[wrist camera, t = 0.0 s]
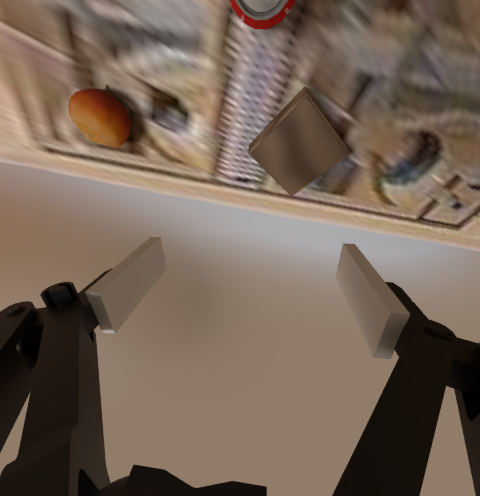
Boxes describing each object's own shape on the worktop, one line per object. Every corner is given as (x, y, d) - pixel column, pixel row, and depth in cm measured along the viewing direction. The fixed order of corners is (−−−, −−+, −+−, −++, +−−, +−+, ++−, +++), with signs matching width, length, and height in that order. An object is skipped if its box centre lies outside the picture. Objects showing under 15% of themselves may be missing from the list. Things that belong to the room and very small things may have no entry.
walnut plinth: (304, 86, 31) (307, 93, 28) (345, 144, 35) (351, 154, 33) (249, 144, 37) (247, 153, 34) (290, 186, 42) (291, 197, 39)
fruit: (144, 101, 33) (114, 140, 31) (141, 129, 40) (116, 162, 38) (88, 57, 30) (50, 96, 28) (95, 96, 37) (65, 129, 35)
